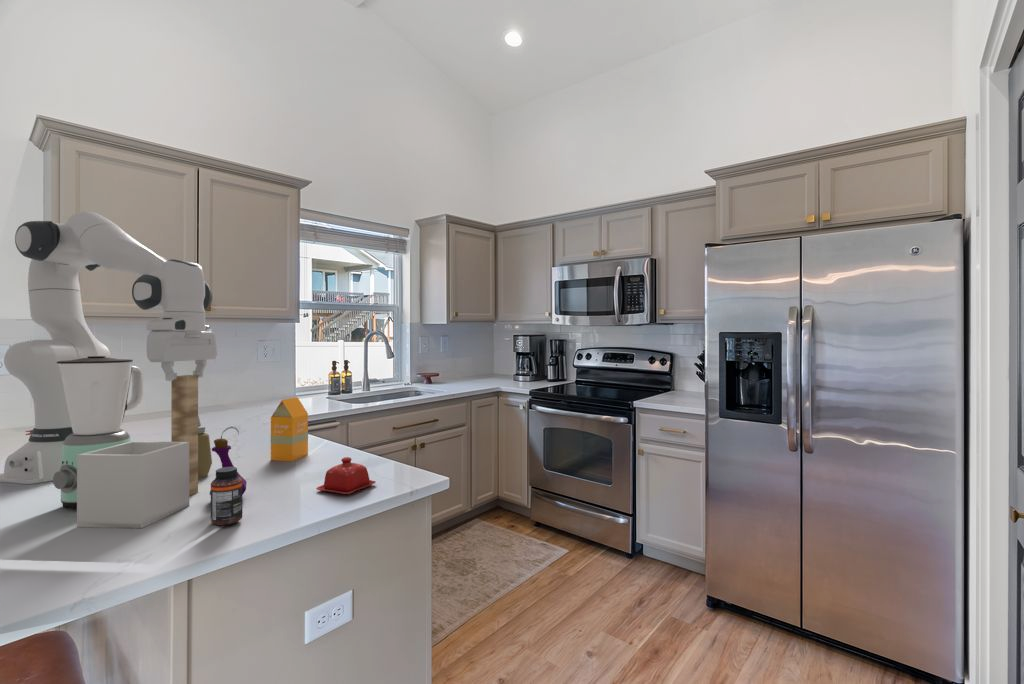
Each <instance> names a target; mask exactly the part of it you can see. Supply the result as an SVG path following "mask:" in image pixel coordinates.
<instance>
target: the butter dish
mask: <svg viewBox="0 0 1024 684" xmlns="http://www.w3.org/2000/svg"><path fill="white" fill-rule="evenodd" d="M351 461H352V457H349V456H344V457H343V458H341V462H342V463H340V464H337V465H335V466H332V467H331V468H329V469H327V470H326V472H325V475H324V476H325V477H324V482H323V484H322V485H320V486H317V487H316V490H318V491H322V492H323V491H324V492H330V493H334V492H335V493H334V494H340V493H341V495H345V494H348V495H350V493H351V494H353V493H355V491H356V492H357V490H358V491H361V490H362V488H363V489H365V488H367V487H369V486H372V485H375V483H376V481H375V480H370V475H369V472H368V468H367V467H366V466H365V465H363V464H359V463H357V462H356V463H355V462H351ZM360 489H361V490H360Z"/></svg>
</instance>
